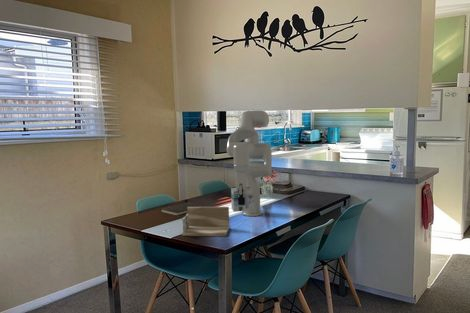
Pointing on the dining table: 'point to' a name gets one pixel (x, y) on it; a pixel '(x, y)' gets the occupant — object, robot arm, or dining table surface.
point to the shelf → (206, 221)
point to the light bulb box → (248, 200)
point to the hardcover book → (180, 208)
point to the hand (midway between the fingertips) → (242, 202)
